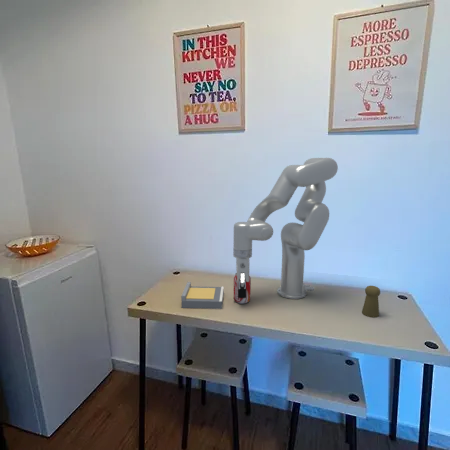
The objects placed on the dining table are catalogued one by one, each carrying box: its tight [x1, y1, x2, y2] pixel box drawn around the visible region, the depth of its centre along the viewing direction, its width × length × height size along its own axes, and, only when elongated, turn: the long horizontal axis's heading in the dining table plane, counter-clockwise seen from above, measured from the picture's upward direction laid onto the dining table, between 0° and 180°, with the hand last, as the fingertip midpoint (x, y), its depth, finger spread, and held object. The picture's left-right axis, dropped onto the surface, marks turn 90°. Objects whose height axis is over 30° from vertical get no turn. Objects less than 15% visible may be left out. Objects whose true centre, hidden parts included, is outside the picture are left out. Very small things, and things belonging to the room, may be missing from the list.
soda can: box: [233, 271, 252, 305], centre depth 129 cm, size 7×7×12 cm
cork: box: [361, 285, 381, 319], centre depth 119 cm, size 6×6×11 cm
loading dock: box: [180, 281, 225, 310], centre depth 131 cm, size 16×15×5 cm
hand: (242, 293), depth 130 cm, fingers open, 7 cm apart
